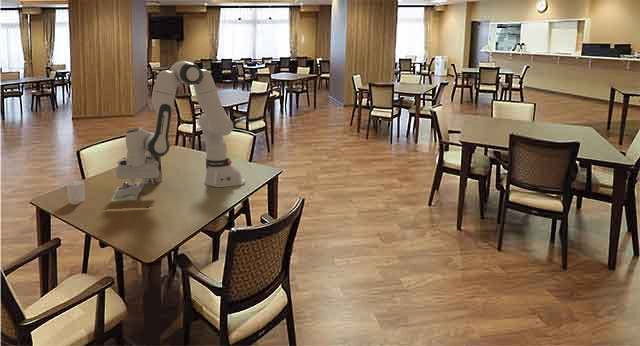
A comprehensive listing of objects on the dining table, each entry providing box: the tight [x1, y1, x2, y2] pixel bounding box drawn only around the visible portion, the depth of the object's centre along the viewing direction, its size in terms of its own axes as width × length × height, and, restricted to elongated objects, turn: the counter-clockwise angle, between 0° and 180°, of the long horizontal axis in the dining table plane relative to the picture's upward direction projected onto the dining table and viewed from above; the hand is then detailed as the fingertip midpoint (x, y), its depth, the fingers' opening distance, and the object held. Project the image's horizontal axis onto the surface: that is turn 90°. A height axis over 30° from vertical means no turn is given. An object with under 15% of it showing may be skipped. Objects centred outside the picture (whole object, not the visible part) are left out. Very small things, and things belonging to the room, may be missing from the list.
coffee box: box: [143, 153, 163, 185], centre depth 278 cm, size 9×6×16 cm
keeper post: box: [121, 181, 130, 196], centre depth 258 cm, size 3×3×6 cm
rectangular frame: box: [114, 181, 143, 198], centre depth 258 cm, size 12×8×3 cm, turn 101°
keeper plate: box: [110, 192, 140, 202], centre depth 259 cm, size 12×18×1 cm, turn 12°
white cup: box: [65, 180, 86, 205], centre depth 247 cm, size 8×8×10 cm
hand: (138, 186), depth 259 cm, fingers closed on rectangular frame, 2 cm apart
